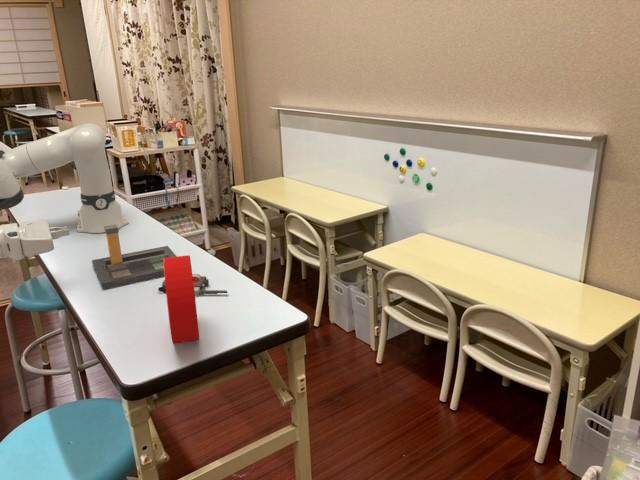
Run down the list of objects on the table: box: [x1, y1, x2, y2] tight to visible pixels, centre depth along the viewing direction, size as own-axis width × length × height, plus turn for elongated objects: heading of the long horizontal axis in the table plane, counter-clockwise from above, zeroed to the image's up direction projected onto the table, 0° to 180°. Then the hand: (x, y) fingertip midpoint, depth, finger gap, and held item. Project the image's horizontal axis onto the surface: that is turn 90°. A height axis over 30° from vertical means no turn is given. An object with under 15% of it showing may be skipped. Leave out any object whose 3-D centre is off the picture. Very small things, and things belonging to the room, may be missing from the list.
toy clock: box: [164, 254, 200, 345], centre depth 118 cm, size 20×6×20 cm, turn 17°
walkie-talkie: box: [158, 273, 228, 298], centre depth 144 cm, size 9×4×20 cm
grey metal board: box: [91, 245, 178, 291], centre depth 158 cm, size 20×24×4 cm
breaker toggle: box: [104, 224, 123, 264], centre depth 153 cm, size 3×3×13 cm
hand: (68, 230), depth 144 cm, fingers closed
